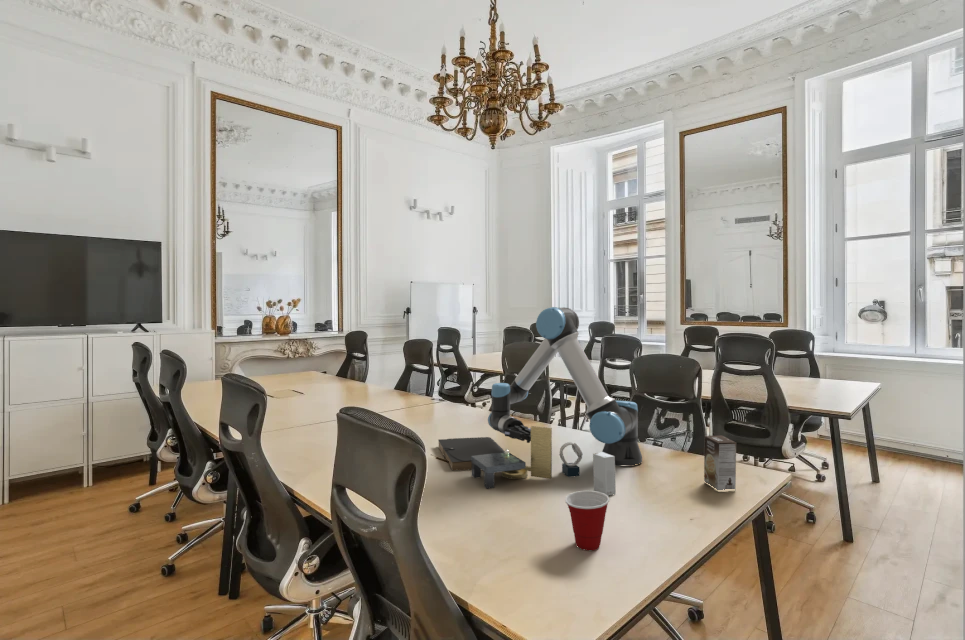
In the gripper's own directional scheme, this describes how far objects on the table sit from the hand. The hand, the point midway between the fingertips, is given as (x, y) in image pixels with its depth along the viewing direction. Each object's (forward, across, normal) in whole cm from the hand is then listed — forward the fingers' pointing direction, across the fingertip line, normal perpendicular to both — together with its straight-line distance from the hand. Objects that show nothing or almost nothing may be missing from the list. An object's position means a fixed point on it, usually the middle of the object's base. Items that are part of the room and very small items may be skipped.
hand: (541, 441), depth 178 cm
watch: (+2, -11, -12) cm, 17 cm away
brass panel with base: (-2, +5, -12) cm, 13 cm away
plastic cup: (+51, +16, -12) cm, 54 cm away
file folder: (-32, +12, -13) cm, 37 cm away
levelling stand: (-3, +15, -12) cm, 20 cm away
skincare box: (+22, -10, -12) cm, 27 cm away
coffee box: (+33, -48, -12) cm, 59 cm away
